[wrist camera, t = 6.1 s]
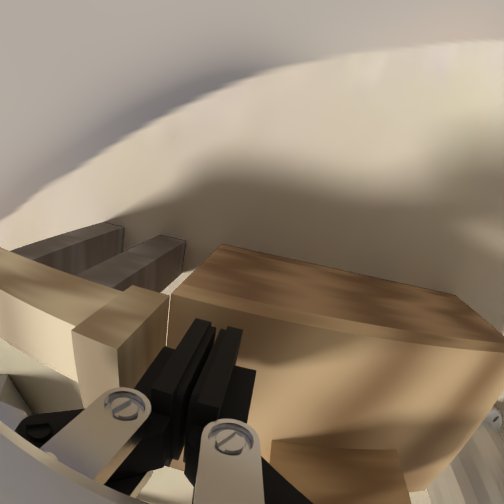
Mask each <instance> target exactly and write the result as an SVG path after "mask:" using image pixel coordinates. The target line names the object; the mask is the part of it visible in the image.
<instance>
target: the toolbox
mask: <svg viewBox="0 0 504 504" xmlns="http://www.w3.org/2000/svg"><path fill="white" fill-rule="evenodd" d="M123 234H124V227H122V226H117V225H113V224H108V223H104V222H102V223H99V224H95V225H91V226H88V227H84V228H81V229H78V230H74V231H71V232H67V233H64V234H61V235H58V236H54V237H51V238H48V239H45V240H42V241H38V242H35V243H32V244H29V245H26V246H23V247H20V248H17V249H14V250H11V251H10V252H13V253H15V254H18V255H20V256H23V257H25V258H28V259H30V260H33V261H36V262H38V263H41V264H44V265H46V266H49V267H52V268H54V269H57V270H60V271H63V272H65V273H68V274H71V275H74V276H77V277H80V278H83V279H86V280H89V281H92V282H95V283H98V284H101V285H104V286H107V287H110V288H113V289H116V290H119V291H125V290H126V289H128V288H129V287H130V286H132V285H134V286H137V287H141V288H144V289H148V290H151V291H155V292H159V293H160V292H162V291H163V290H164V289H165V288H166V287H167V286H168V285H169V284H170V283H171V282H173V281H174V280H175V279H176V278H177V277H178V276H179V275H180V274H181V273H182V267H183V259H184V252H185V244H186V241H185V240H180V239H176V238H171V237H167V236H162V235H159V236H156V237H154V238H152V239H150V240H148V241H146V242H143V243H141V244H139V245H137V246H135V247H133V248H131V249H129V250H126V251H124V252H122V247H123ZM181 284H185V285H189V286H193V287H197V288H201V289H205V290H209V291H213V292H218V293H222V294H226V295H230V296H235V297H239V298H243V299H248V300H252V301H256V302H261V303H265V304H270V305H275V306H279V307H284V308H289V309H294V310H298V311H303V312H308V313H313V314H318V315H323V316H328V317H334V318H339V319H344V320H349V321H355V322H360V323H366V324H372V325H377V326H383V327H389V328H395V329H401V330H408V331H414V332H421V333H427V334H434V335H441V336H448V337H456V338H463V339H471V340H479V341H488V342H497V343H504V336H503V335H502V334H500V333H499V332H498V331H497V330H496V329H495V328H494V327H493V326H491V325H490V324H489V323H488V322H487V321H486V320H484V319H483V318H482V317H481V316H480V315H478V314H477V313H476V312H475V311H474V310H472V309H471V308H470V307H469V306H468V305H466V304H465V303H464V302H463V301H461V300H460V299H459V298H458V297H457V296H455V295H451V294H447V293H442V292H438V291H433V290H429V289H424V288H419V287H415V286H410V285H406V284H401V283H397V282H392V281H388V280H383V279H379V278H374V277H369V276H365V275H360V274H356V273H351V272H347V271H342V270H338V269H333V268H328V267H324V266H319V265H315V264H310V263H306V262H301V261H296V260H292V259H287V258H283V257H278V256H274V255H269V254H264V253H260V252H255V251H251V250H246V249H241V248H237V247H232V246H228V245H223V244H221V245H220V246H219V247H218V248H217V249H216V250H215V251H214V252H213V253H212V254H211V255H210V256H209V257H208V258H207V259H206V260H205V261H204V262H203V263H202V264H201V265H200V266H199V267H198V268H197V269H196V270H195V271H194V272H193V273H192V274H191V275H190V276H189V277H188V278H187V279H186V280H184V281H183V282H182V283H181Z"/></svg>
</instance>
